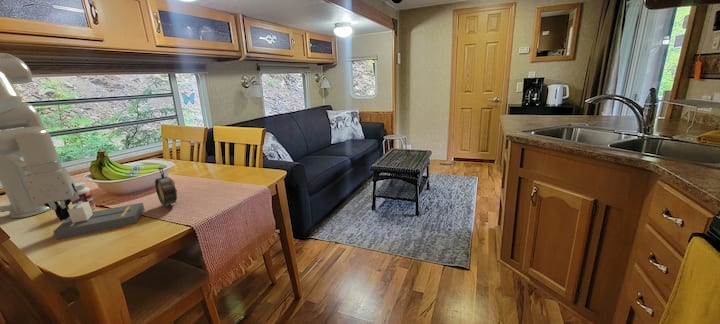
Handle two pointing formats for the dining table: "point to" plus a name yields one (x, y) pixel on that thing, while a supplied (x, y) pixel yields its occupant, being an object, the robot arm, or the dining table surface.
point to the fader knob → (80, 212)
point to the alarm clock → (166, 190)
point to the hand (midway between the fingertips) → (65, 218)
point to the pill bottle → (84, 195)
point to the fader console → (101, 221)
